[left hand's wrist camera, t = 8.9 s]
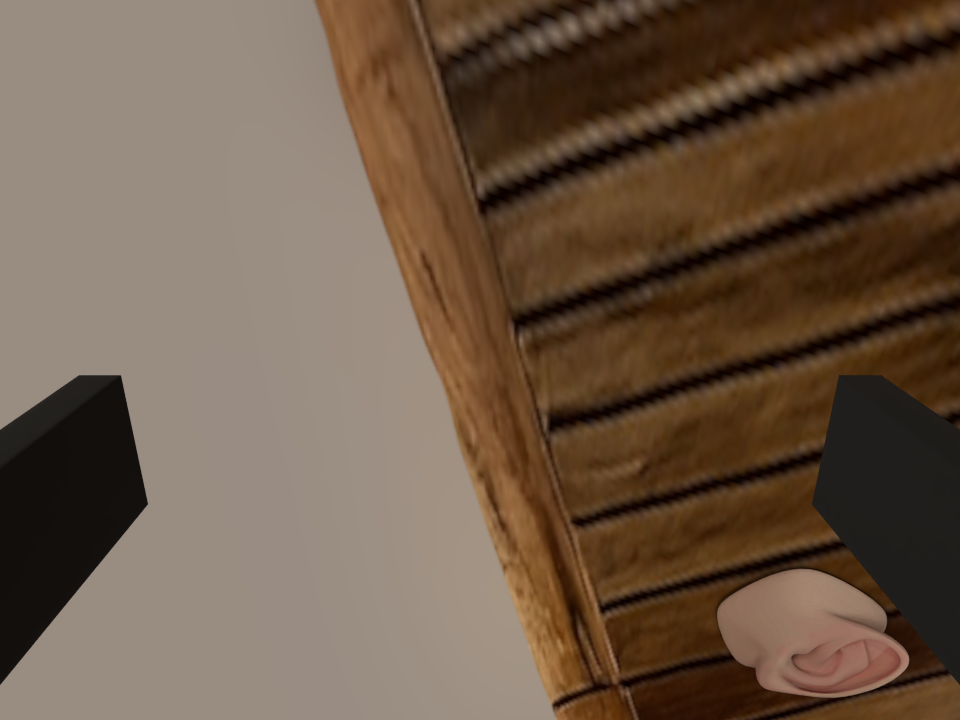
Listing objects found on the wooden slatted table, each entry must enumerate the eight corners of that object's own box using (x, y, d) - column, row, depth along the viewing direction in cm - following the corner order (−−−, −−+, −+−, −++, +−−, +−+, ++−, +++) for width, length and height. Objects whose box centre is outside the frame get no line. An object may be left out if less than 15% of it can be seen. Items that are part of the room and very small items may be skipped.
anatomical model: (706, 662, 52) (824, 570, 49) (691, 624, 56) (800, 537, 53) (815, 743, 55) (933, 662, 52) (794, 703, 59) (903, 625, 56)
